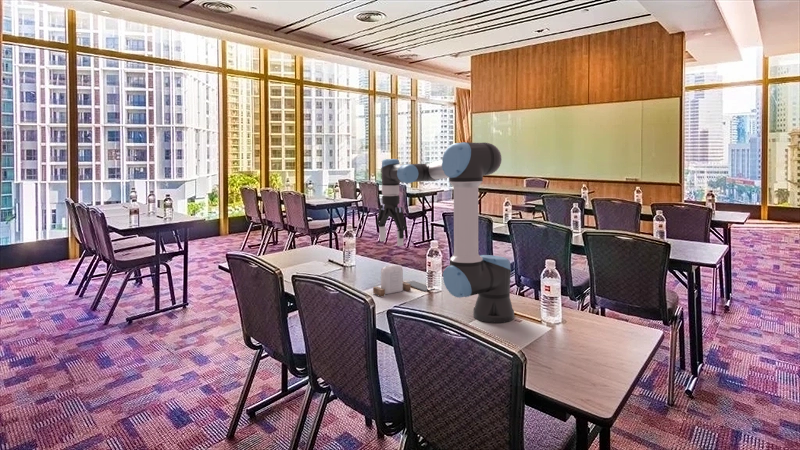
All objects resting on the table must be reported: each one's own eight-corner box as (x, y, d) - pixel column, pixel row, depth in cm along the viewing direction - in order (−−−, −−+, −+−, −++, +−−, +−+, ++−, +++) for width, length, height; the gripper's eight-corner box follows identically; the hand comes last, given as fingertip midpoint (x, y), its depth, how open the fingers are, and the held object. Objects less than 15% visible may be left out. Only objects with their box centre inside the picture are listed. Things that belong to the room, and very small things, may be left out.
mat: (434, 289, 225) (434, 288, 225) (424, 291, 222) (424, 290, 222) (413, 281, 238) (413, 280, 238) (403, 283, 235) (403, 282, 235)
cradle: (410, 290, 224) (410, 284, 223) (380, 296, 214) (380, 290, 214) (402, 287, 228) (402, 281, 228) (373, 293, 219) (373, 287, 219)
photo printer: (399, 289, 226) (398, 262, 224) (404, 291, 223) (404, 264, 221) (379, 293, 220) (379, 265, 219) (384, 295, 217) (384, 267, 215)
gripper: (415, 196, 207) (415, 246, 210) (382, 192, 227) (382, 238, 230) (400, 197, 203) (400, 248, 206) (368, 193, 223) (368, 240, 226)
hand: (391, 243), depth 218 cm, fingers open, 13 cm apart
